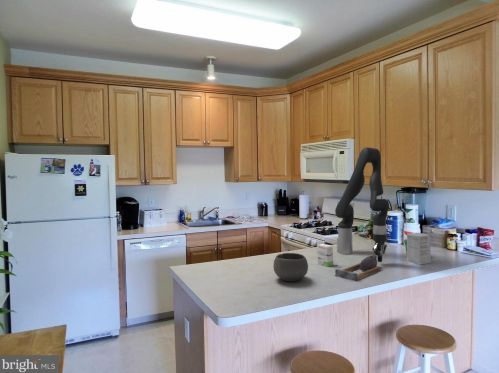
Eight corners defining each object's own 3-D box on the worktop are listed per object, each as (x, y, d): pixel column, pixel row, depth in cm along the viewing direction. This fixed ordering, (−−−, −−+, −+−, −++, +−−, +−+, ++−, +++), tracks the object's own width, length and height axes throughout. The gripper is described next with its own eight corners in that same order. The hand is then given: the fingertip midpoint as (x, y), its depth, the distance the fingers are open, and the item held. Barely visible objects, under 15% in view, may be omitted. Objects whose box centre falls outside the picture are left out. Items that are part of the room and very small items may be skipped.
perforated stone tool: (364, 273, 186) (364, 260, 185) (356, 270, 190) (356, 258, 190) (380, 267, 195) (379, 255, 194) (371, 265, 199) (371, 254, 198)
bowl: (273, 274, 187) (272, 252, 186) (305, 274, 186) (305, 251, 186) (274, 285, 169) (273, 260, 169) (310, 285, 169) (310, 260, 168)
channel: (335, 275, 182) (335, 269, 182) (360, 266, 198) (360, 260, 198) (355, 281, 173) (355, 274, 172) (380, 270, 189) (380, 264, 189)
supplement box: (431, 263, 201) (431, 234, 200) (419, 265, 197) (419, 236, 196) (417, 259, 209) (417, 232, 208) (406, 261, 206) (406, 233, 205)
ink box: (333, 265, 202) (333, 245, 201) (327, 266, 199) (327, 247, 198) (322, 262, 209) (322, 243, 208) (317, 263, 206) (316, 244, 205)
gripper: (379, 230, 207) (379, 258, 208) (367, 233, 198) (368, 262, 199) (391, 231, 201) (391, 260, 202) (380, 235, 193) (380, 265, 193)
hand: (379, 261), depth 201 cm, fingers closed
